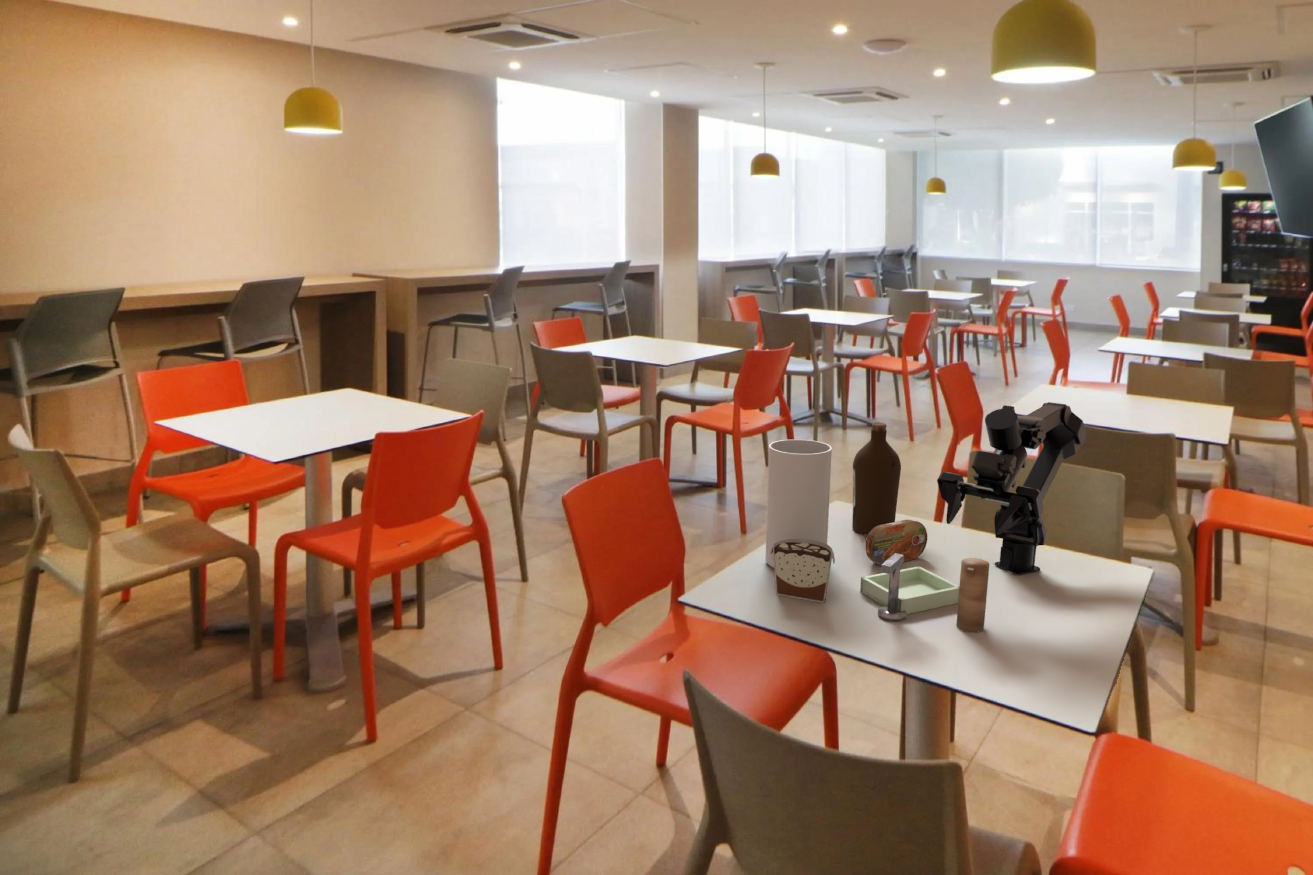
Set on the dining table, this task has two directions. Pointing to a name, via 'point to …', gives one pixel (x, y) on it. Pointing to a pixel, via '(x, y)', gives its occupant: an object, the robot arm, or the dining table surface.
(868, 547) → the tin
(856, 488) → the olive oil
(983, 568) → the brown coffee tumbler
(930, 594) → the tray
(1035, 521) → the robot arm
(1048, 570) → the dining table surface
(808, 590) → the food container
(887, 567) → the t stake
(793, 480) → the cylinder vase
